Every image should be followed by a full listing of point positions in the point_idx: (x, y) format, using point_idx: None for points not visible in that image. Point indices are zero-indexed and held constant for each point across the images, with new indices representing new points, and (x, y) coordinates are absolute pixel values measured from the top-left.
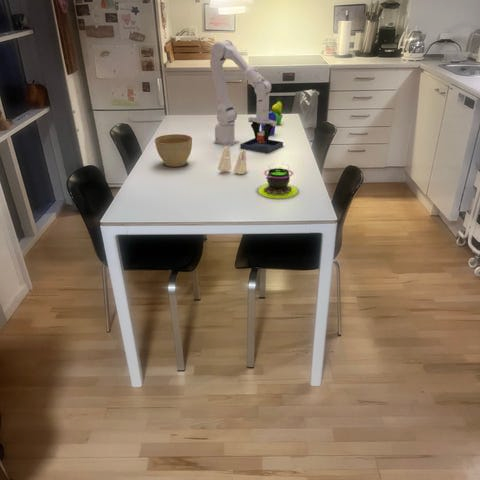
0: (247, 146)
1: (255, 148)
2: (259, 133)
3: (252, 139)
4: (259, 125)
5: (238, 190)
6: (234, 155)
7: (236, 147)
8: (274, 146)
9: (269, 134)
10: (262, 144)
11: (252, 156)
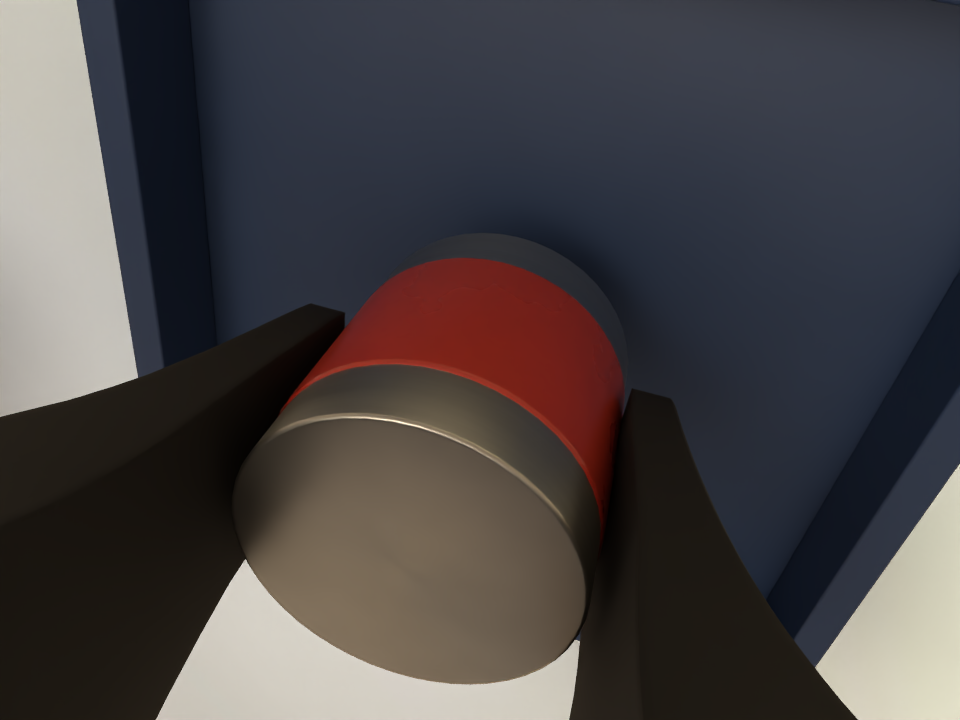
0: None
1: None
2: (397, 668)
3: (121, 115)
4: (58, 567)
5: None
6: (323, 690)
7: (104, 386)
8: (920, 509)
9: (715, 519)
10: (443, 60)
11: (563, 712)
